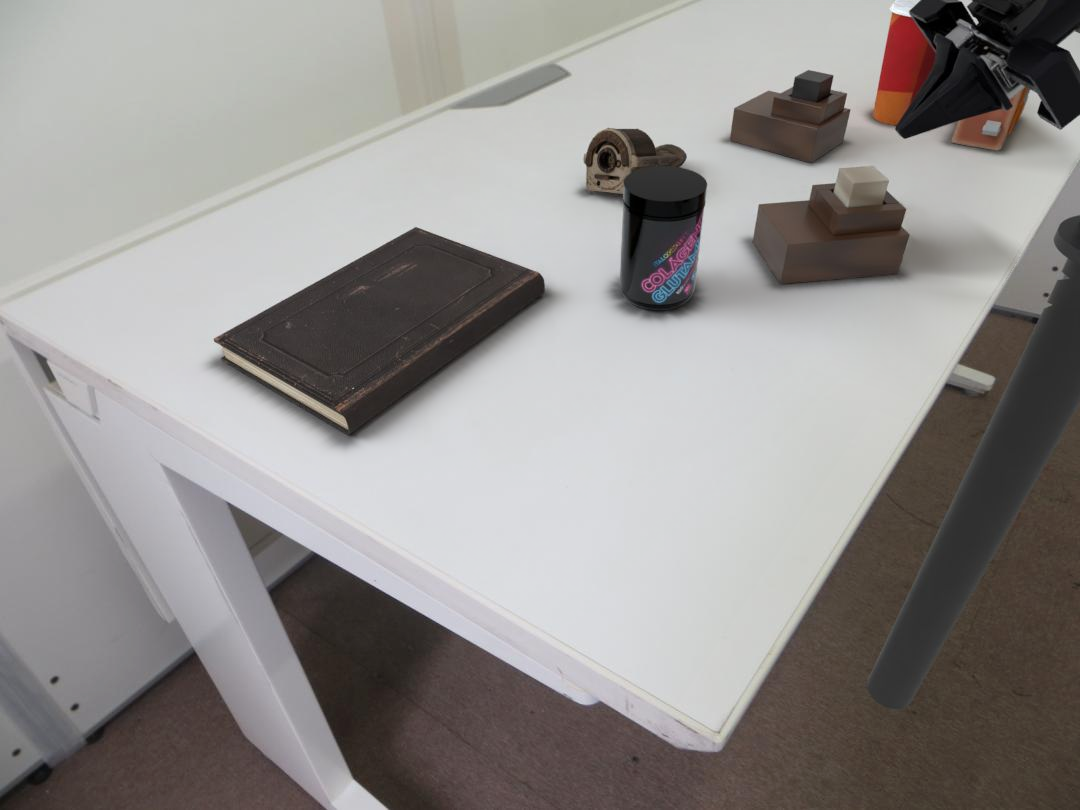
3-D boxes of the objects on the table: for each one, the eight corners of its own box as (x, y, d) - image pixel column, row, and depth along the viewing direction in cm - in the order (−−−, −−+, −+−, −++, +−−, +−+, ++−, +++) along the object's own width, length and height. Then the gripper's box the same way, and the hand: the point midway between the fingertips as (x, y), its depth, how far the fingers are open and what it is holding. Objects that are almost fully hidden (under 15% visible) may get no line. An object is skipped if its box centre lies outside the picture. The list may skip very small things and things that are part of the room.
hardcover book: (221, 361, 62) (213, 338, 61) (418, 247, 76) (415, 226, 74) (352, 438, 55) (345, 414, 53) (545, 296, 68) (544, 274, 67)
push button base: (843, 142, 92) (854, 91, 88) (811, 163, 88) (821, 111, 84) (763, 121, 98) (771, 73, 94) (729, 140, 94) (736, 90, 90)
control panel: (1023, 115, 97) (1004, 156, 88) (964, 106, 100) (940, 145, 91) (1098, -82, 83) (1085, -58, 74) (1027, -85, 86) (1006, -63, 77)
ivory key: (866, 192, 70) (873, 165, 68) (881, 207, 67) (889, 180, 65) (832, 194, 69) (838, 167, 68) (846, 210, 67) (853, 182, 65)
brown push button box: (860, 233, 75) (876, 175, 71) (898, 274, 69) (917, 213, 65) (752, 241, 74) (761, 183, 71) (780, 284, 68) (792, 223, 64)
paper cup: (915, 106, 101) (949, -12, 91) (937, 127, 95) (975, 4, 86) (855, 107, 101) (883, -10, 92) (873, 129, 95) (904, 6, 86)
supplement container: (622, 315, 65) (627, 203, 59) (615, 275, 71) (619, 167, 64) (700, 312, 65) (715, 199, 59) (687, 272, 71) (699, 164, 64)
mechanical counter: (561, 129, 84) (599, 140, 76) (662, 99, 87) (710, 106, 78) (573, 193, 88) (611, 210, 79) (669, 162, 90) (716, 175, 82)
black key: (829, 97, 88) (834, 75, 87) (815, 105, 87) (820, 82, 85) (804, 92, 90) (808, 69, 88) (790, 99, 88) (794, 76, 87)
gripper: (966, -121, 61) (806, 36, 68) (1125, -85, 47) (903, 109, 53) (1023, -18, 66) (870, 118, 73) (1180, 42, 52) (973, 204, 59)
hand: (899, 133), depth 65 cm, fingers closed
